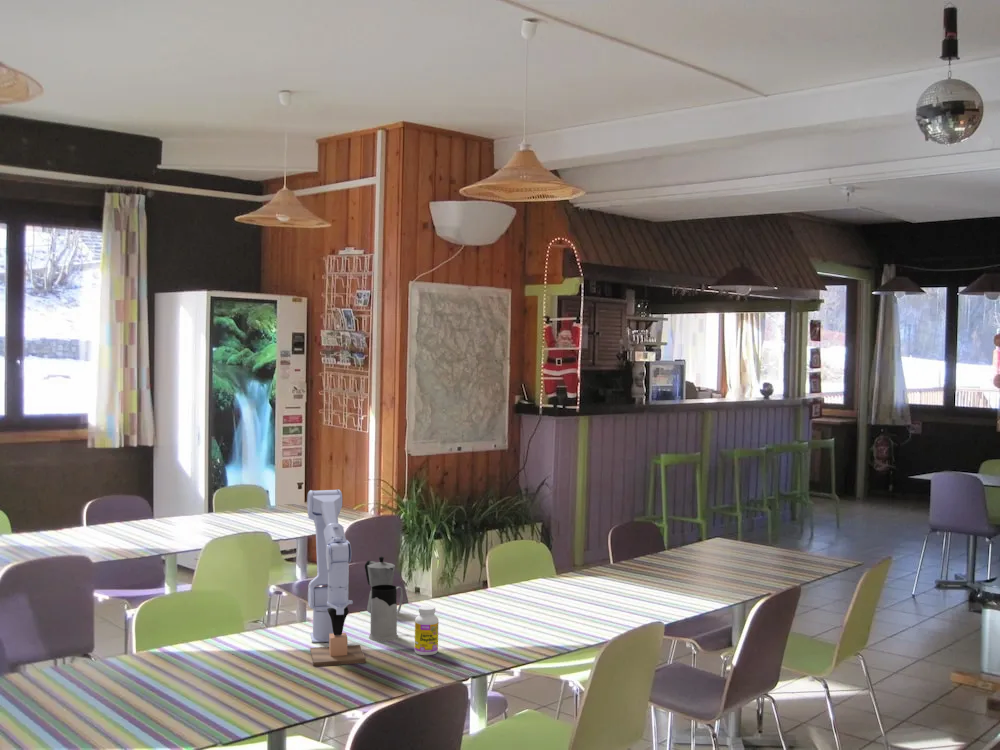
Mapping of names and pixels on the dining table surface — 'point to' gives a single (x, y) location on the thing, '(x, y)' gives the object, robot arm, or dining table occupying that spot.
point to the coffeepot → (378, 575)
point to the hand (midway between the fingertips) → (337, 634)
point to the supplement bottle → (426, 631)
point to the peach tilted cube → (338, 644)
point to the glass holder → (384, 612)
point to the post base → (323, 656)
